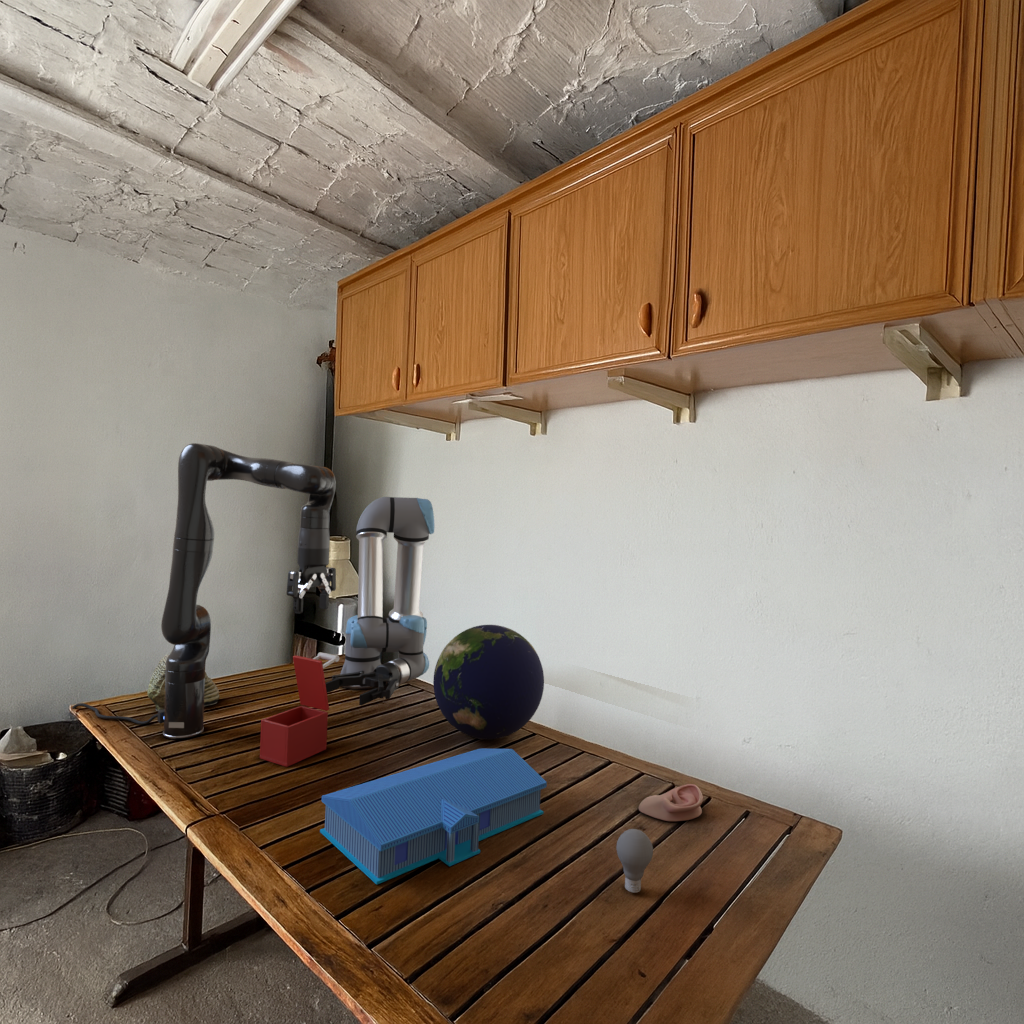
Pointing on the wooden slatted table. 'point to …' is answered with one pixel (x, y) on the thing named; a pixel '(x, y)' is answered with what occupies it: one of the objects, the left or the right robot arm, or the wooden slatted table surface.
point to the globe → (488, 681)
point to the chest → (293, 735)
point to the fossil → (158, 687)
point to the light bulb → (634, 857)
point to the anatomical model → (674, 804)
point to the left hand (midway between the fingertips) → (311, 610)
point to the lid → (313, 680)
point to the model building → (431, 811)
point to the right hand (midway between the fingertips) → (340, 694)
